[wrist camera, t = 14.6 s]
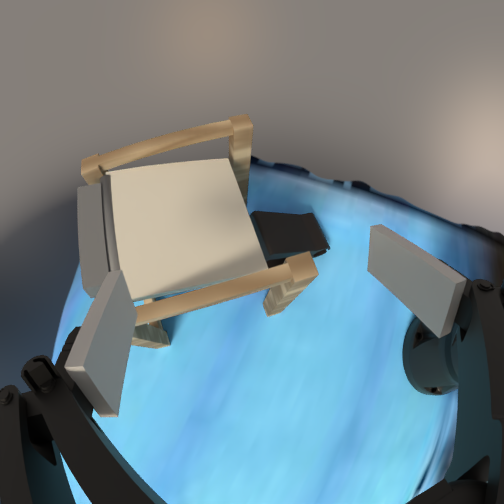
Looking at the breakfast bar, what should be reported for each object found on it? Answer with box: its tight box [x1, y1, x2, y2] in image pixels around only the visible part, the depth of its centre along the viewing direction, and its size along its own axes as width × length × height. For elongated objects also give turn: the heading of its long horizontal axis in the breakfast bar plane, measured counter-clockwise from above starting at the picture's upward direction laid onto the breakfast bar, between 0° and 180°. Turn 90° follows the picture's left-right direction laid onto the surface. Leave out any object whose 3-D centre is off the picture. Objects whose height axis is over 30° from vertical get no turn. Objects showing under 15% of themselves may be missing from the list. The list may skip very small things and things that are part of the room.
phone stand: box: [250, 211, 330, 269], centre depth 40 cm, size 9×6×12 cm
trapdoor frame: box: [81, 114, 319, 349], centre depth 32 cm, size 18×18×19 cm
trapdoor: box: [78, 158, 268, 302], centre depth 25 cm, size 13×16×3 cm
